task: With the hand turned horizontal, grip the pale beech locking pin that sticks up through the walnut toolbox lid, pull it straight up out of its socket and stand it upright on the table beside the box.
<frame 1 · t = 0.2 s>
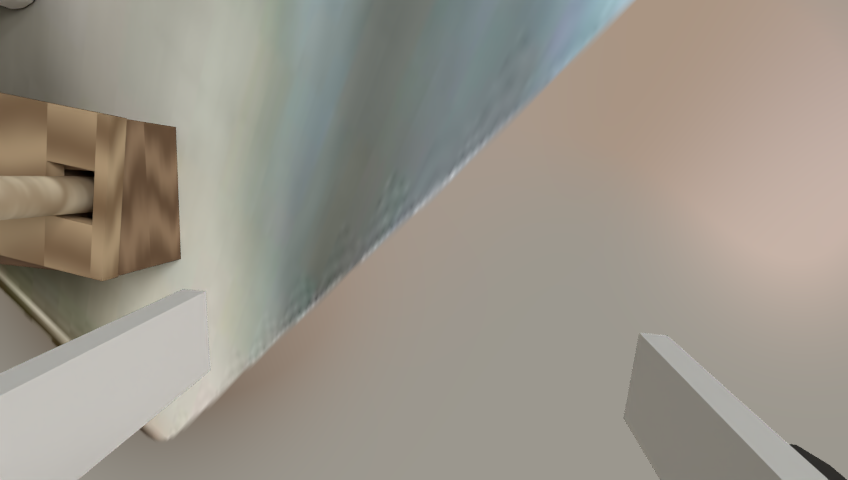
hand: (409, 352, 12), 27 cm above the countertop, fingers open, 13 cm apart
toolbox: (80, 187, 44), on the countertop
locking pin: (121, 192, 39), point 4 cm above the countertop, touching toolbox
toolbox lid: (3, 173, 36), point 8 cm above the countertop, touching toolbox
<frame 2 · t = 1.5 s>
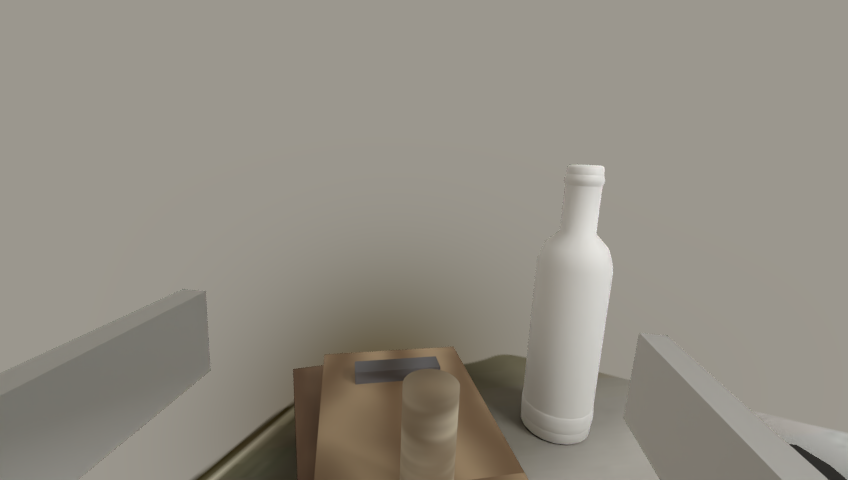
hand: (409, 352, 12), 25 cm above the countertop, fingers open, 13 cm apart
toolbox lid: (408, 439, 32), point 8 cm above the countertop, touching toolbox
bottle: (553, 423, 47), on the countertop
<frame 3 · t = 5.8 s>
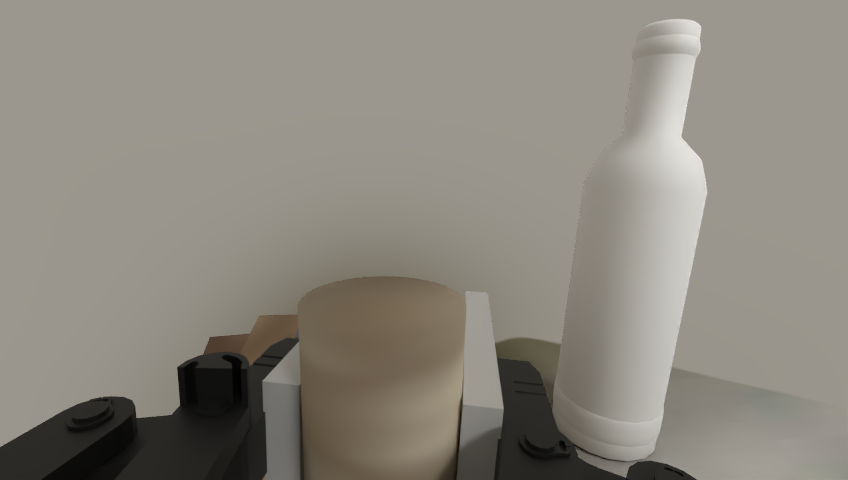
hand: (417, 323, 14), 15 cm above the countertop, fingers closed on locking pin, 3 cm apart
toolbox lid: (375, 453, 17), point 8 cm above the countertop, touching toolbox
bottle: (600, 429, 33), on the countertop
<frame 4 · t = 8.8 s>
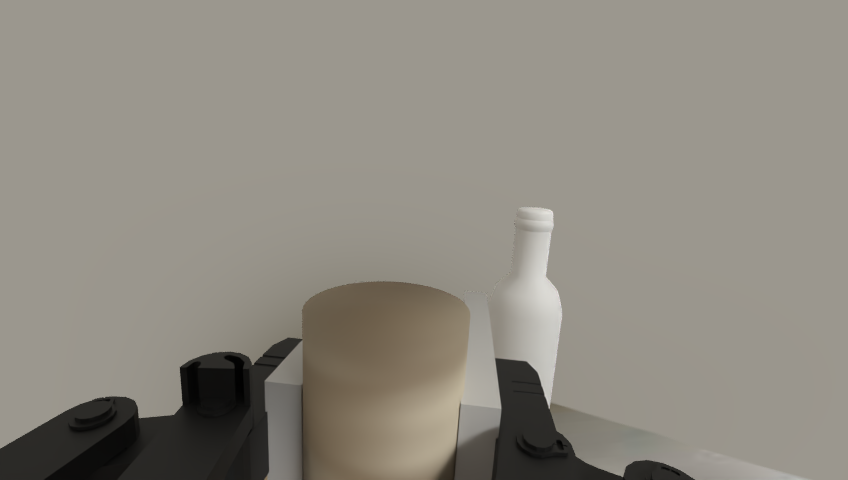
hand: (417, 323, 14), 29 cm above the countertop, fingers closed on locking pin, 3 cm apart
bottle: (506, 463, 47), on the countertop
when the fingers open (12 cm above the countertop, at t = 12.0 s): locking pin drops 1 cm, on the countertop.
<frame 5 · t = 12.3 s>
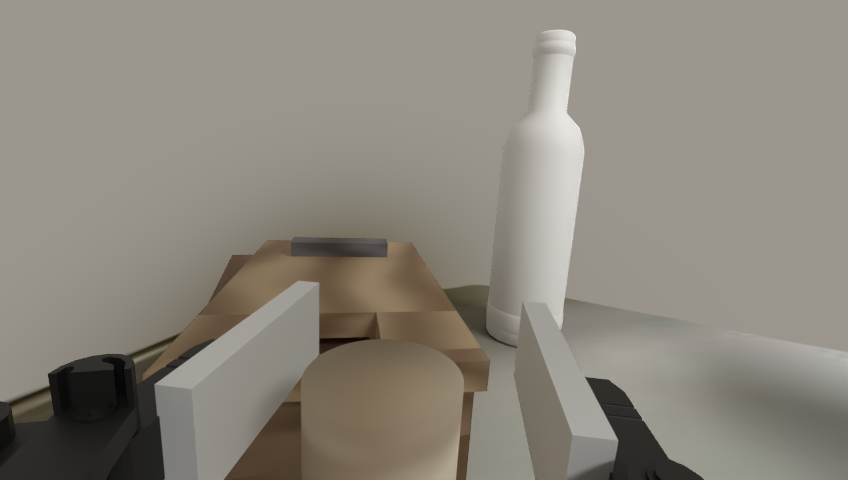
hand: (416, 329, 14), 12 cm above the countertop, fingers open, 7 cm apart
toolbox: (317, 391, 31), on the countertop
toolbox lid: (337, 298, 28), point 8 cm above the countertop, touching toolbox
bottle: (521, 334, 44), on the countertop
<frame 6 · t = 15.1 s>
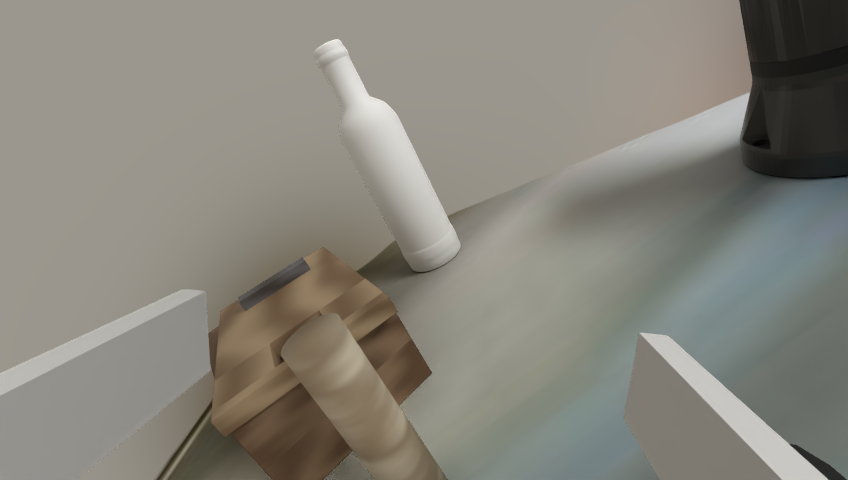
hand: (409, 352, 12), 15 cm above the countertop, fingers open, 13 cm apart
toolbox: (321, 380, 42), on the countertop
toolbox lid: (294, 317, 39), point 8 cm above the countertop, touching toolbox
bottle: (436, 257, 57), on the countertop
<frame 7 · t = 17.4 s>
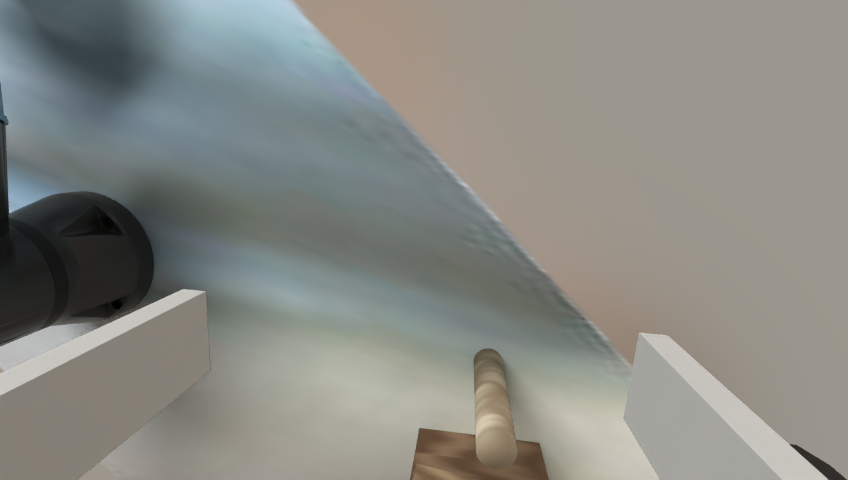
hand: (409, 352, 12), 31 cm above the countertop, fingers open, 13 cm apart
locking pin: (488, 361, 45), on the countertop
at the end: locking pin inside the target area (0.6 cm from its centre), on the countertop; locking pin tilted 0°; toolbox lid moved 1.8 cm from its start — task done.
